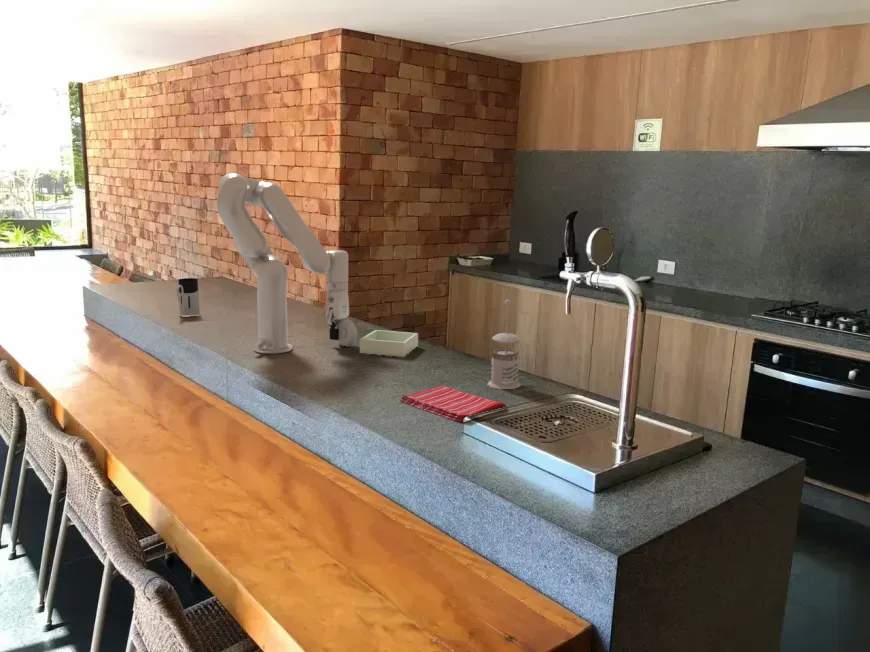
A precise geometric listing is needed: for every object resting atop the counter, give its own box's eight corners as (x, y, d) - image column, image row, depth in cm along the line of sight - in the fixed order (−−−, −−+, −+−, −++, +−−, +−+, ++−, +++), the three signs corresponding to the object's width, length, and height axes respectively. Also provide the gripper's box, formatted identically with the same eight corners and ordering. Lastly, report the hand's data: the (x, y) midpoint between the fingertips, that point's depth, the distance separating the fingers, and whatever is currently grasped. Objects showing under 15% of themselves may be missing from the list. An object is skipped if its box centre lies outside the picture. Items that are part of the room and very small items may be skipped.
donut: (332, 344, 248) (332, 316, 246) (340, 343, 251) (340, 315, 249) (351, 350, 242) (351, 321, 240) (358, 348, 244) (359, 320, 242)
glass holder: (204, 313, 298) (202, 278, 295) (189, 320, 285) (187, 283, 281) (184, 312, 299) (182, 277, 296) (168, 319, 285) (166, 282, 282)
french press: (480, 384, 205) (483, 298, 200) (506, 377, 213) (509, 294, 208) (506, 391, 198) (510, 303, 193) (532, 384, 206) (536, 299, 201)
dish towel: (463, 426, 171) (464, 416, 171) (398, 403, 188) (398, 393, 187) (508, 411, 183) (509, 401, 183) (443, 390, 200) (443, 381, 199)
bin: (404, 357, 233) (404, 342, 232) (359, 353, 237) (359, 339, 236) (417, 347, 248) (418, 333, 247) (375, 343, 252) (375, 329, 251)
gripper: (337, 290, 235) (337, 344, 239) (356, 283, 251) (355, 334, 255) (316, 288, 237) (316, 342, 241) (336, 282, 253) (336, 332, 257)
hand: (336, 337), depth 248 cm, fingers closed on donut, 3 cm apart
